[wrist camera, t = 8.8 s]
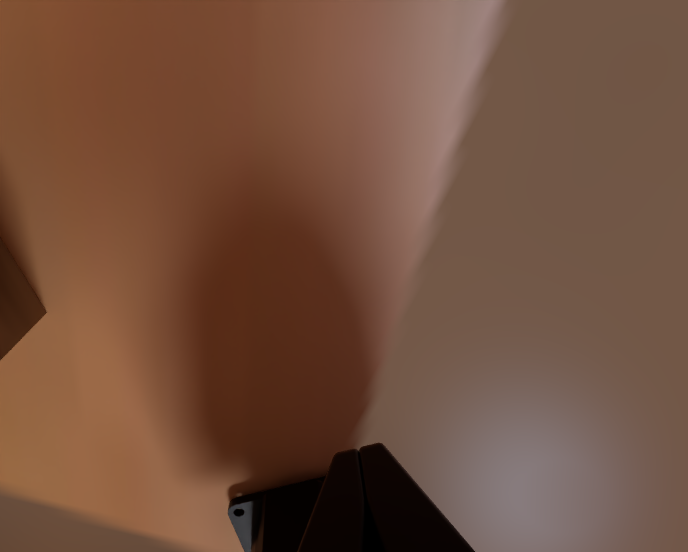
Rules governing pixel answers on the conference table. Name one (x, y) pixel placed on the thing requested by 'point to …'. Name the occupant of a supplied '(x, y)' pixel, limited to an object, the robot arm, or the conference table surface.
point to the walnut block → (15, 303)
